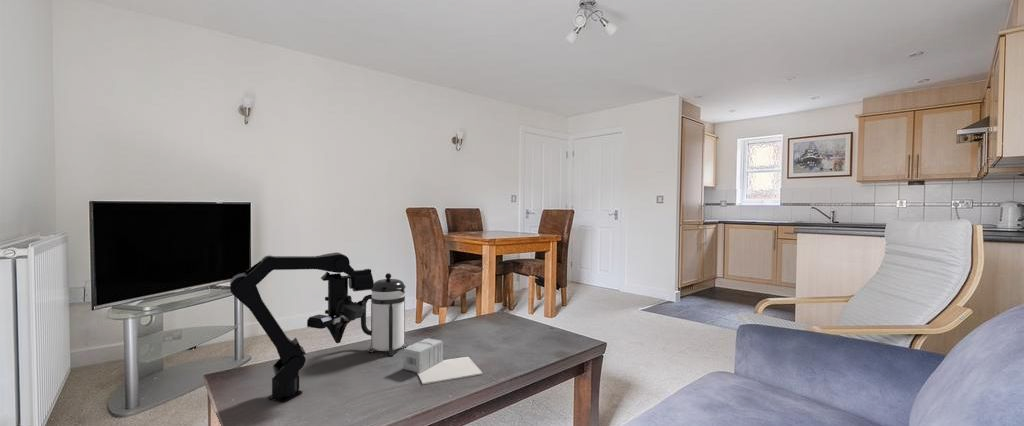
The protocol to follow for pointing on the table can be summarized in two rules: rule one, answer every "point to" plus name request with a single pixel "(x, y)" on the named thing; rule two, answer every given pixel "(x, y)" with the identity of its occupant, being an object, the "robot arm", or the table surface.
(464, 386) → the table surface
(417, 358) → the supplement box
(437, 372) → the mat
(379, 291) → the coffee press
